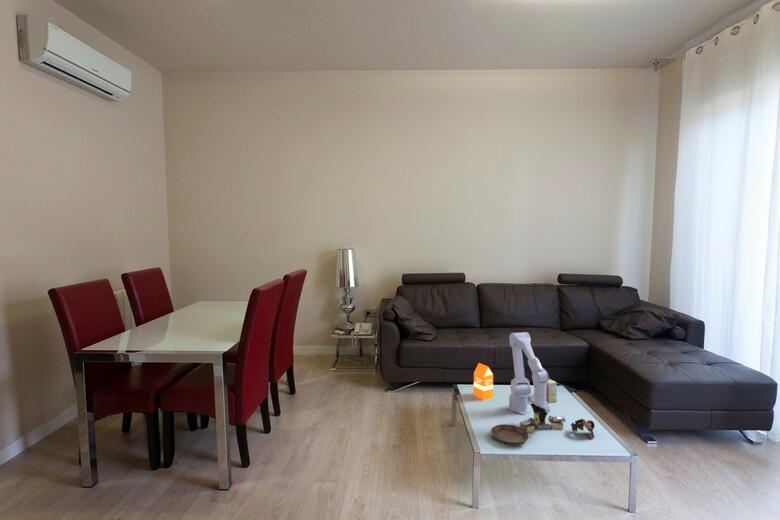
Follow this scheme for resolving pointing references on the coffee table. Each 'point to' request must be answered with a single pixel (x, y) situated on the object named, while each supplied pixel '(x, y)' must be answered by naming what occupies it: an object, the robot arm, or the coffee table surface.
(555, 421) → the shaft
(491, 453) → the coffee table surface
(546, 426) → the cradle
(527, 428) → the shaft
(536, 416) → the block
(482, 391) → the orange juice
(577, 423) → the pottery mug
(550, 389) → the box
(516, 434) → the plant saucer
